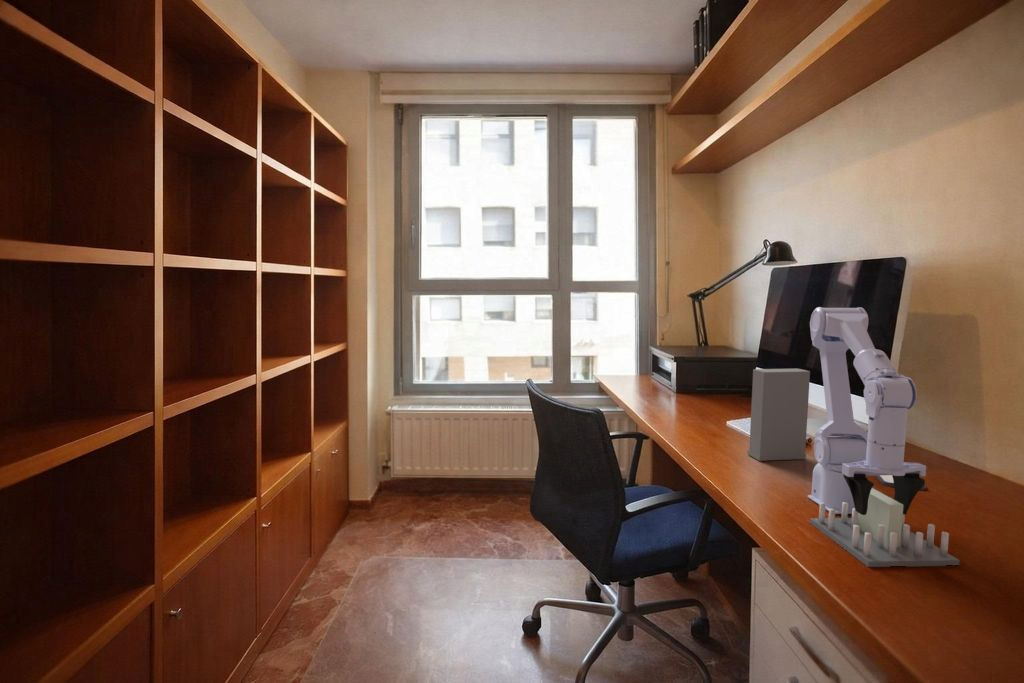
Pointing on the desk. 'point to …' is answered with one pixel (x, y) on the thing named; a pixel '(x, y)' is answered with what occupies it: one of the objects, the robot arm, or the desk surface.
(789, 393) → the tall grey upright box
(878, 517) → the pale rectangular block
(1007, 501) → the desk surface
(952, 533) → the desk surface
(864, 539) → the dish rack
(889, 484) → the phone case
